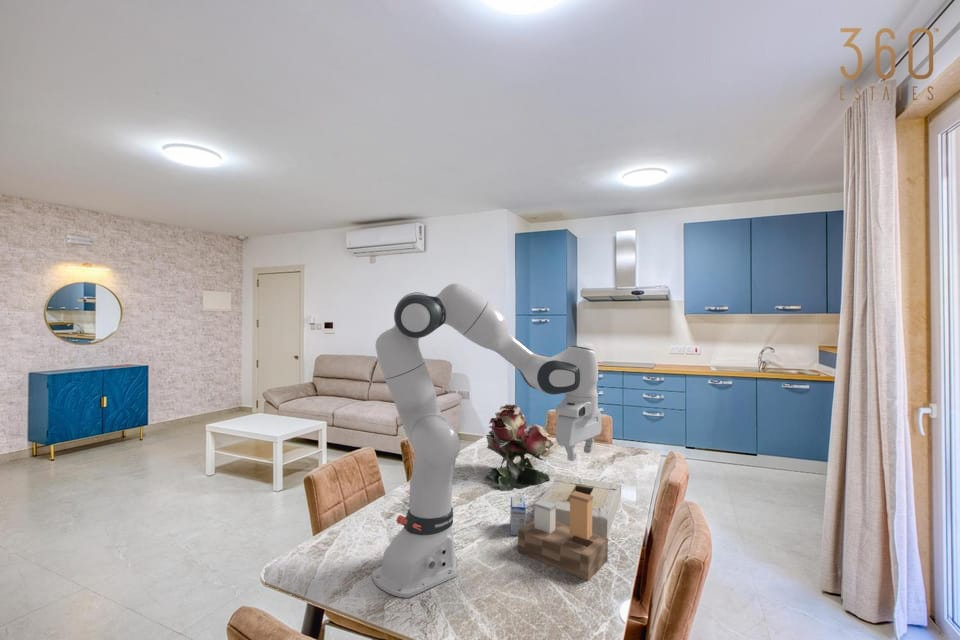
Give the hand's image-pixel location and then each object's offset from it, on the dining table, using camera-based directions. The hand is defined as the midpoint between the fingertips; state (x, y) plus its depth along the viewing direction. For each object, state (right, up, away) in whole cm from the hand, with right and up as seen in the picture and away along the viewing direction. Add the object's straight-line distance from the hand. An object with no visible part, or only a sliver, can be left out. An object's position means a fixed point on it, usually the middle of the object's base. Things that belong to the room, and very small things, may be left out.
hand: (579, 456), depth 118 cm
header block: (-5, -28, +1) cm, 28 cm away
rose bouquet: (-13, -28, +63) cm, 70 cm away
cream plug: (-9, -25, +4) cm, 27 cm away
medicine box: (-16, -28, +16) cm, 36 cm away
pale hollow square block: (+7, -29, +29) cm, 41 cm away
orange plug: (0, -20, -3) cm, 20 cm away
